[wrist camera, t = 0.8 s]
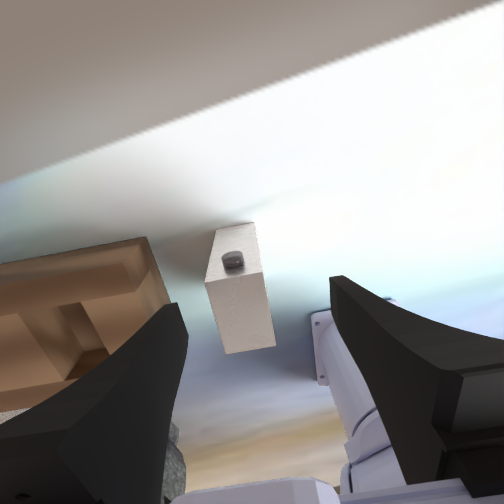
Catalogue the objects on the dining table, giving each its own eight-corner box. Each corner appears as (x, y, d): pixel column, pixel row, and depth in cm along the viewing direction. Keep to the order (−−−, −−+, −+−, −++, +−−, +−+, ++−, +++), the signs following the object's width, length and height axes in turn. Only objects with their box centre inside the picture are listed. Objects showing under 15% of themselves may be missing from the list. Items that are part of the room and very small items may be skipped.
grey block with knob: (265, 281, 23) (277, 352, 16) (231, 287, 23) (227, 360, 16) (253, 216, 20) (260, 263, 13) (214, 223, 20) (201, 274, 13)
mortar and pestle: (158, 466, 33) (119, 628, 22) (92, 435, 30) (10, 606, 19) (219, 424, 31) (208, 586, 20) (153, 385, 27) (97, 553, 17)
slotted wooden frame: (186, 342, 25) (175, 382, 21) (26, 369, 26) (-15, 414, 22) (146, 236, 21) (122, 262, 16) (-48, 273, 21) (-117, 307, 17)
